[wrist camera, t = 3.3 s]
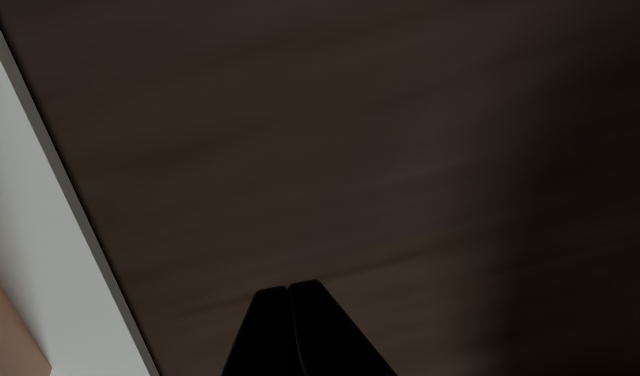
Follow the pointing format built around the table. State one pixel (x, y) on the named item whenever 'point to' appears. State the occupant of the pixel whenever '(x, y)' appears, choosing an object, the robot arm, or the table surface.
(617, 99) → the table surface
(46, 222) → the mat
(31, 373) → the tile
